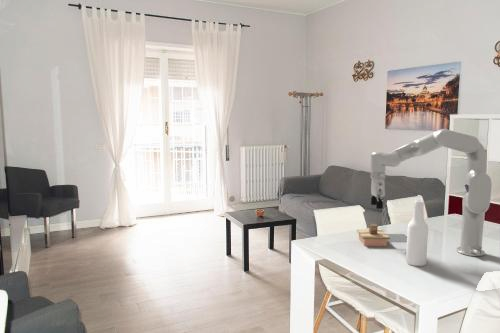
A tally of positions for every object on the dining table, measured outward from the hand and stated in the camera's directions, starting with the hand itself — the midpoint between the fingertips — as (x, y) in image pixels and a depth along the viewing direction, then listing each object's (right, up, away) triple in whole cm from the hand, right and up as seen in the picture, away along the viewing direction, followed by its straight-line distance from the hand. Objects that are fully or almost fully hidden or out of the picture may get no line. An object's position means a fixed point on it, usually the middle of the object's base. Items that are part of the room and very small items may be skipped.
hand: (376, 206), depth 215 cm
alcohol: (+9, -24, -28) cm, 38 cm away
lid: (-2, -16, +2) cm, 16 cm away
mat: (+14, -19, +11) cm, 26 cm away
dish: (-2, -20, +2) cm, 20 cm away
